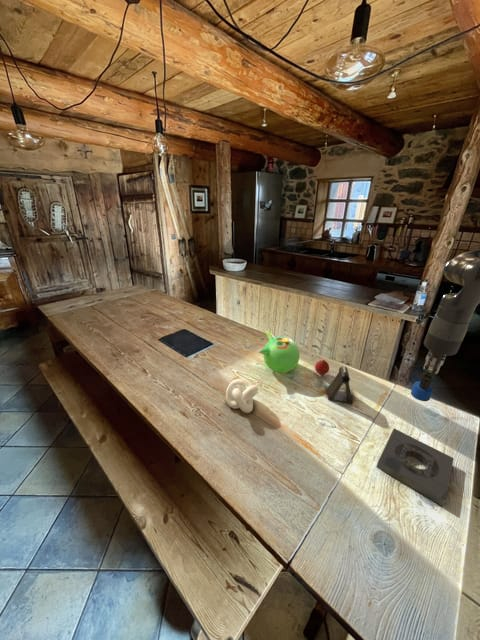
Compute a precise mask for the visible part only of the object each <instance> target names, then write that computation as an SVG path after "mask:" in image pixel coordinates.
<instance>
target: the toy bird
mask: <svg viewBox="0 0 480 640" xmlns="http://www.w3.org/2000/svg"><path fill="white" fill-rule="evenodd" d="M265 334H266V337H267V343H266V344H265V346H264V347H263V348H260V349H259V350H258V353H259V354H262V355H263V360H264V363H265V365H266V366H267V367H268V368H269V369H270V370H272V371H274V372H276V373H287V372H290V371H292V370H293V369H295V368H296V366H297V365H298V364H299V361H300V357H301V355H300V354H301V353H300V349H299V346H298V345H297V343H296V342H295V341H294V340H292V339H291V338H289V337H287V336H277V337H275V336H274V335H273V334H272V333H271V332H270V331H269V330H266V332H265Z"/></svg>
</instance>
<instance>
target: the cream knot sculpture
mask: <svg viewBox="0 0 480 640" xmlns="http://www.w3.org/2000/svg"><path fill="white" fill-rule="evenodd" d="M258 393H259V386H257V385H256V384H252V385H250V386H248V384H247V382H245V380H243V379H240V378H239V379H238V378H237V379H234V380H232V381H231V382H230V383H229V384H228V386H227V388H226V391H225V400H226V403H227V405H228V406H229V408H231V409H240V410H241V411H242V412H243V413H246V414H250V413H251V412H252V411H253V408H254V403H253V402H254V401H253V397H254V396H255V395H256V394H258Z"/></svg>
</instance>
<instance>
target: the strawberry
mask: <svg viewBox="0 0 480 640" xmlns="http://www.w3.org/2000/svg"><path fill="white" fill-rule="evenodd" d="M314 369H315V371H316V373H317V374H319V375H320V376H323V375H326V374H328V372H329V371H330V365H329V363H328V362H327V361H326V359H320V360H318V361H317V362H316V363H315V365H314Z"/></svg>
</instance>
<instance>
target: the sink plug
mask: <svg viewBox="0 0 480 640" xmlns="http://www.w3.org/2000/svg"><path fill="white" fill-rule="evenodd" d="M420 382H421V380H418V381H415V382H414V383H413V385H412V388H411V391H410V395H411V396H412V397H413V398H414V399H416V400H418V401H421V402H429V401H430V400H431V397H432V396H433V393H434V388H433V386H432V385H430V386H429V388H428V390H426V389H423V388H421V387H419V385H420Z"/></svg>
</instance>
